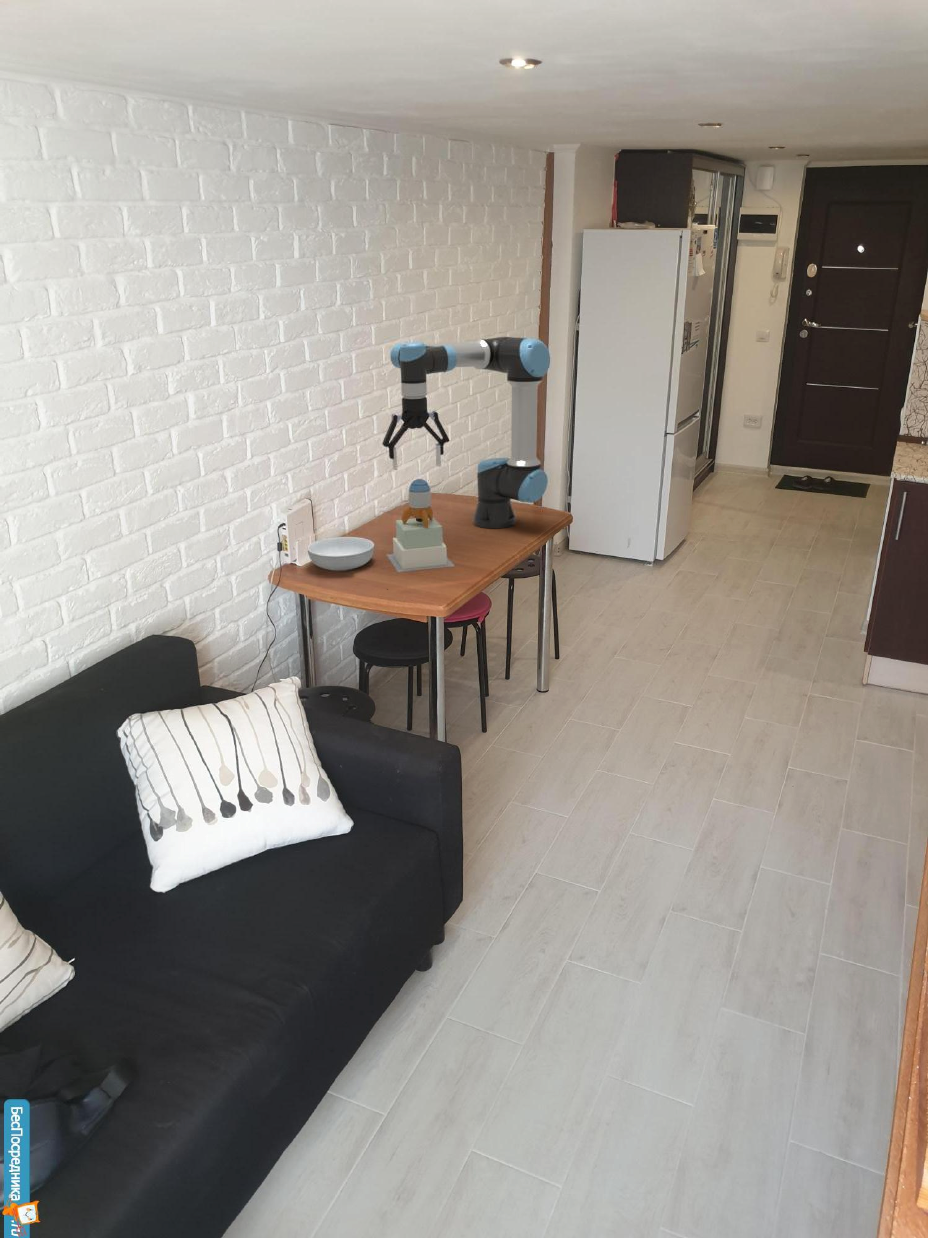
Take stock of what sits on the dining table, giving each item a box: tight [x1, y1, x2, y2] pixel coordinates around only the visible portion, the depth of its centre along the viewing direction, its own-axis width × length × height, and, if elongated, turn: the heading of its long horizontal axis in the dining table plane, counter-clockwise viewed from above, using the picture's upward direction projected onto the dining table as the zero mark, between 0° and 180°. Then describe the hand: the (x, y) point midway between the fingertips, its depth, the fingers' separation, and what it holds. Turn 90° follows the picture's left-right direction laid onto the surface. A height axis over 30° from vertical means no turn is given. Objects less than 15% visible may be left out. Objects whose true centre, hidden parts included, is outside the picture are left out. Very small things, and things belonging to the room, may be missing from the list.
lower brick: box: [392, 537, 448, 569], centre depth 299 cm, size 14×14×6 cm
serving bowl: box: [307, 536, 375, 572], centre depth 298 cm, size 21×21×7 cm
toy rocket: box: [401, 478, 434, 528], centre depth 292 cm, size 10×11×15 cm
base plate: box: [386, 553, 455, 573], centre depth 300 cm, size 18×18×1 cm
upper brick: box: [395, 517, 444, 549], centre depth 296 cm, size 12×12×6 cm
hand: (416, 467), depth 289 cm, fingers open, 13 cm apart
